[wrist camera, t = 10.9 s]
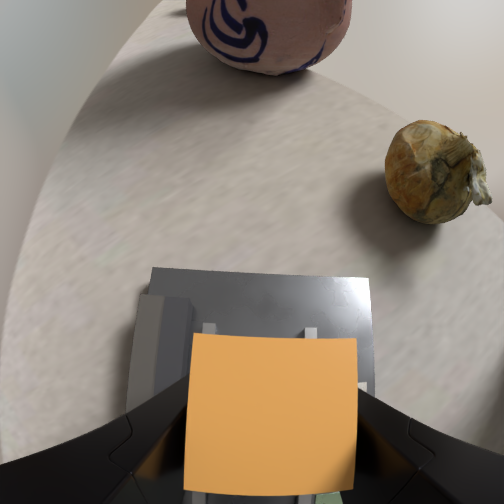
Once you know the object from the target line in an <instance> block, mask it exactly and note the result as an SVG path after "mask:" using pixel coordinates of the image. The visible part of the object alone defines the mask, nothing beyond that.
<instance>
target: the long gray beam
mask: <svg viewBox="0 0 504 504" xmlns="http://www.w3.org/2000/svg"><path fill="white" fill-rule="evenodd" d="M192 311H193V305H192V303H191V301H190V299H189V298H181V297H169V296H158V295H147V294H140V300H139V305H138V311H137V318H136V324H135V331H134V338H133V345H132V353H131V361H130V369H129V378H128V389H127V400H126V413H127V412H129V411H130V410H132V409H134V408H135V407H137V406H139V405H140V404H142V403H144V402H145V401H147V400H148V399H150V398H152V397H153V396H155V395H156V394H158V393H159V392H161V391H163V390H164V389H166V388H167V387H169V386H170V385H172V384H173V383H175V382H177V381H178V380H180V379H181V378H183V377H184V376H186V371H187V360H188V349H189V339H190V329H191V320H192ZM126 413H125V415H126Z"/></svg>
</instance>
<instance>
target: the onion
mask: <svg viewBox="0 0 504 504" xmlns="http://www.w3.org/2000/svg"><path fill="white" fill-rule="evenodd" d="M385 179H386V184H387V189H388V192H389V194H390V196H391V197H392V199H393V201H394V202H395V203H396V204H397V205H398V207H399V208H400V209H401V210H402V211H403V212H404V213H405V214H406V215H407V216H409V217H410V218H412V219H413V220H414V221H418V222H421V223H425V224H440V223H446V222H448V221H451V220H453V219H455V218H457V217H458V216H460V215H463V213H464V212H465V211H466V210H467V208H468V206H469V204H470V202H471V201H472V200H473V203H474V204H475V205H477V206H479V205H482V204H484V205H489V204H491V203H492V196H491V193H490V191H489V188H488V186H487V184H486V168H485V165H484V162H483V159H482V156H481V153H480V150H477V149H476V147H475V146H473V144H471V143H470V142H469V141H468V140H467V136H464V135H463V133H462V132H460V135H459V134H458V133H456V132H455V131H453V130H452V129H450V128H448V127H447V126H444V125H441V124H439V123H437V122H434V121H427V120H418V121H416V122H413V123H411V124H409V125H407V126H405V127H404V128H402V129H400V130H399V131H398V132H397V133H396V135H395V136H394V138H393V140H392V142H391V145H390V147H389V150H388V153H387V156H386V158H385Z"/></svg>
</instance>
